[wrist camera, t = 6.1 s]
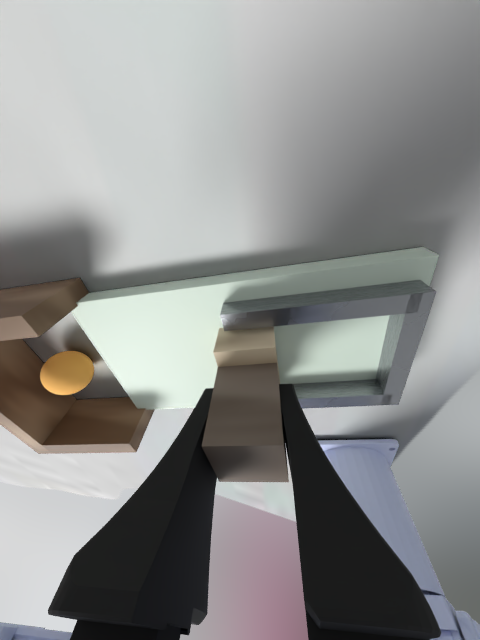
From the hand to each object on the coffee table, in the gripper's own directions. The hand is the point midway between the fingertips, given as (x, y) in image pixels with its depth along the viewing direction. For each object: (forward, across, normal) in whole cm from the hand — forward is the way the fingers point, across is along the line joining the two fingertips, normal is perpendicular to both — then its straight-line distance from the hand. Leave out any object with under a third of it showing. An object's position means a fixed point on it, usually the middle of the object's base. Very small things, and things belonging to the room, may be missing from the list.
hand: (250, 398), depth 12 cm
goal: (+4, +14, 0) cm, 15 cm away
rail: (+3, -4, 0) cm, 5 cm away
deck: (+4, 0, 0) cm, 4 cm away
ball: (+3, +13, 0) cm, 13 cm away
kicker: (+3, 0, 0) cm, 3 cm away
